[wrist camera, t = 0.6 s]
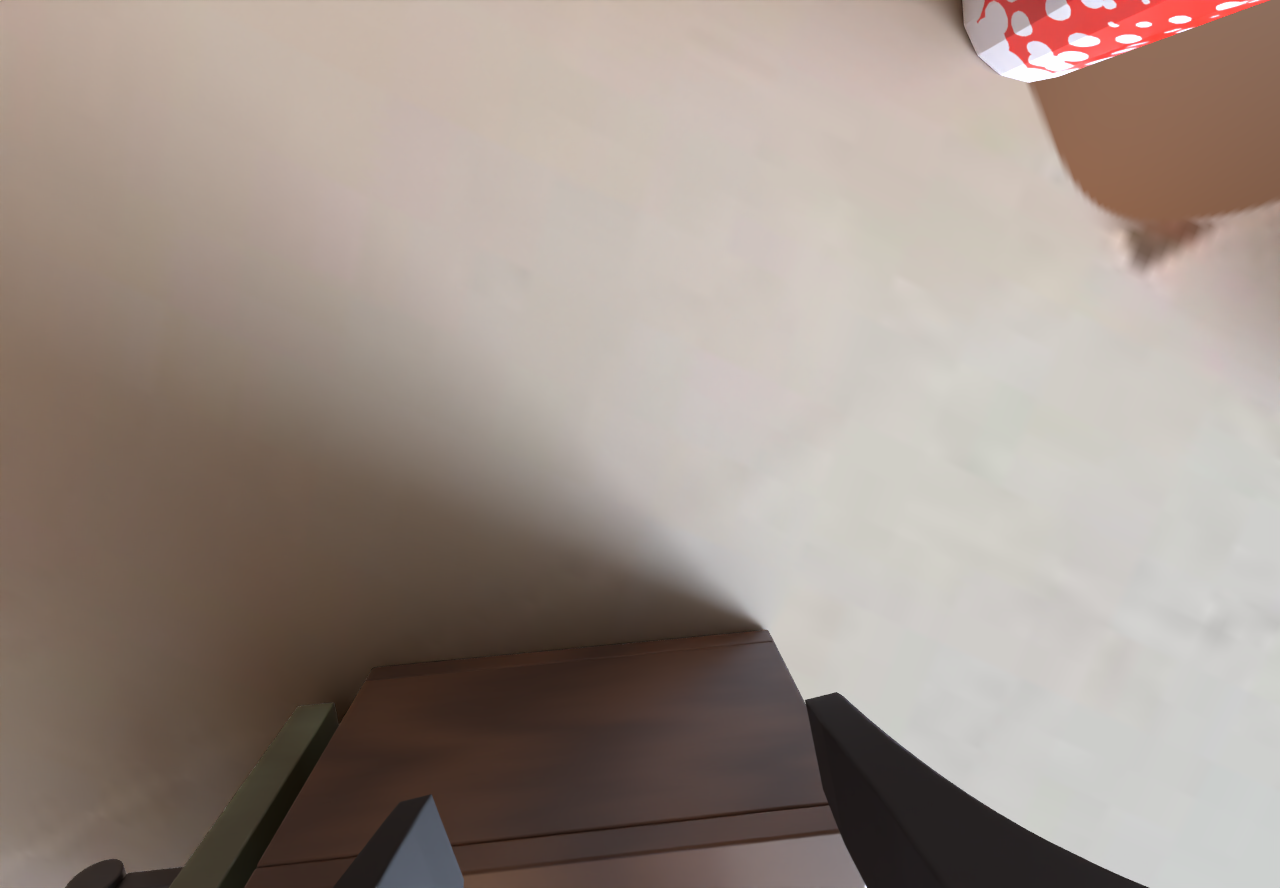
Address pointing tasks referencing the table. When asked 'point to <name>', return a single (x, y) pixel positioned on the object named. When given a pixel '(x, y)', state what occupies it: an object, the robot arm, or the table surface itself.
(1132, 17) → the beverage cup
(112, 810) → the table surface
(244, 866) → the drawer
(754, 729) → the cabinet
